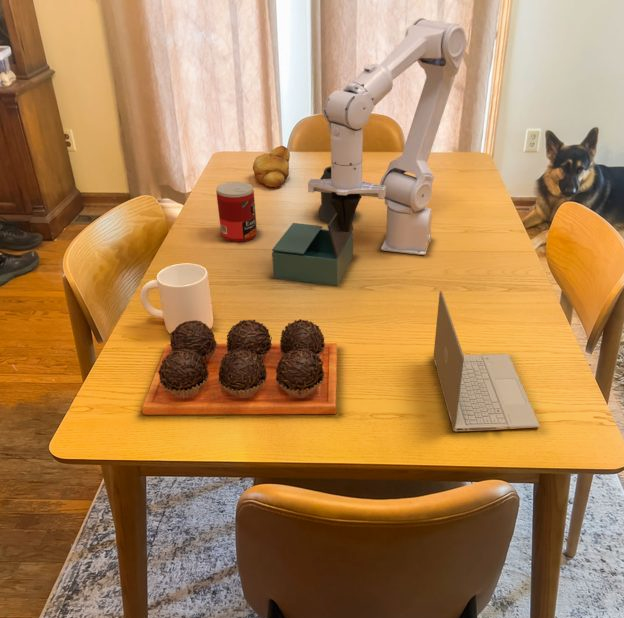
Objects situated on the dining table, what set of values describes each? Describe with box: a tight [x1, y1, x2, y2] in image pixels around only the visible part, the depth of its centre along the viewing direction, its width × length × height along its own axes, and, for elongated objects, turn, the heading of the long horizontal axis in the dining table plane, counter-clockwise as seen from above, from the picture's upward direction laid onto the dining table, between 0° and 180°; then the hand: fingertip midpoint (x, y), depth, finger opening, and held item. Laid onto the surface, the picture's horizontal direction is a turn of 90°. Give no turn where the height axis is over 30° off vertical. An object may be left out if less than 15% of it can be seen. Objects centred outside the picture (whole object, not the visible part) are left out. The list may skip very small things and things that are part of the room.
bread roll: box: [252, 145, 291, 188], centre depth 174 cm, size 13×10×8 cm
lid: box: [327, 213, 355, 257], centre depth 130 cm, size 6×13×1 cm
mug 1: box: [139, 262, 214, 334], centre depth 115 cm, size 12×8×10 cm
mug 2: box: [317, 165, 357, 225], centre depth 156 cm, size 12×9×11 cm
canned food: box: [215, 181, 258, 243], centre depth 146 cm, size 8×8×11 cm
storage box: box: [271, 222, 354, 287], centre depth 135 cm, size 13×13×6 cm
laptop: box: [433, 290, 541, 432], centre depth 99 cm, size 18×12×13 cm
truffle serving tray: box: [141, 318, 338, 416], centre depth 102 cm, size 28×17×8 cm, turn 91°
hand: (346, 229), depth 130 cm, fingers closed
